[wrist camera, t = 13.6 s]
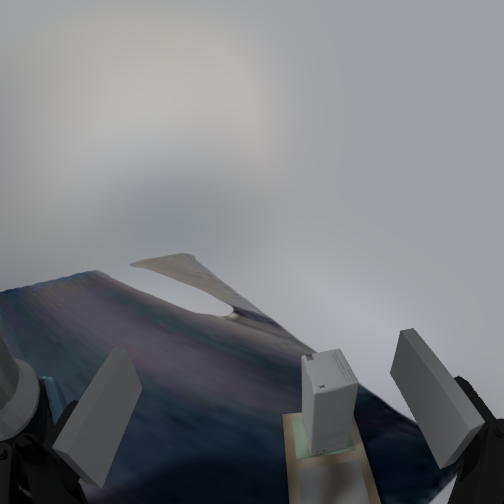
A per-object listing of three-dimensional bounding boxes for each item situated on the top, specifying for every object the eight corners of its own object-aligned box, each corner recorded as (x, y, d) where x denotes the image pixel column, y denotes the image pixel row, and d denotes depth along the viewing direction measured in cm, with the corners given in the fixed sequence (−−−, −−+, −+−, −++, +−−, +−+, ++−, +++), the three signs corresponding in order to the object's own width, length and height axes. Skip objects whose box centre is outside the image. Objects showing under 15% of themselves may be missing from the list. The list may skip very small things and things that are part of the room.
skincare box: (346, 449, 33) (363, 384, 28) (308, 457, 33) (314, 394, 28) (333, 412, 41) (342, 346, 36) (298, 419, 41) (300, 352, 36)
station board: (291, 528, 21) (291, 526, 21) (282, 417, 43) (282, 413, 42) (380, 511, 21) (382, 509, 21) (349, 409, 42) (350, 405, 42)
